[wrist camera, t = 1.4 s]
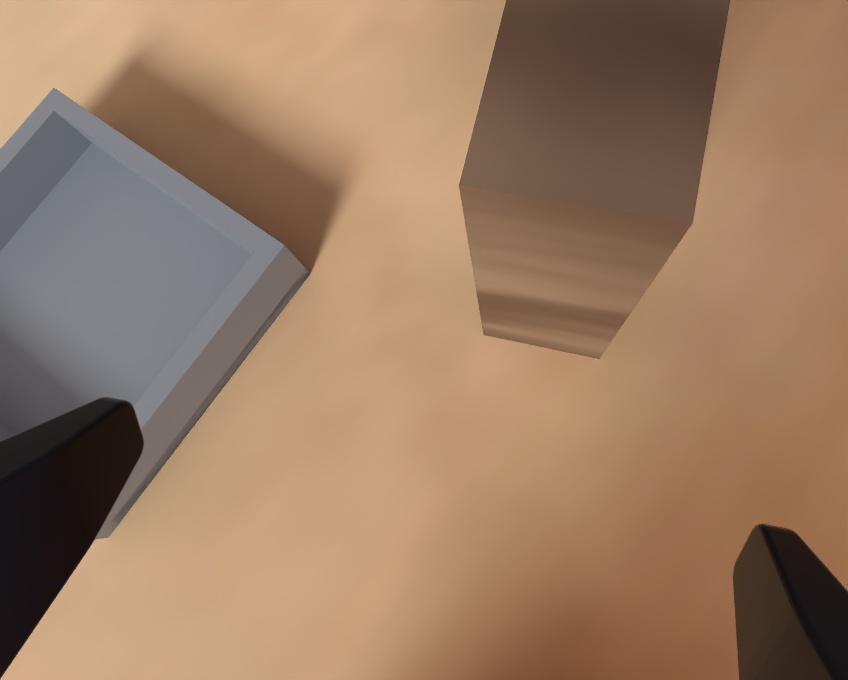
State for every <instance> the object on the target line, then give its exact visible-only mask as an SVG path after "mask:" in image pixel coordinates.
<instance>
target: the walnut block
mask: <svg viewBox="0 0 848 680" xmlns="http://www.w3.org/2000/svg"><path fill="white" fill-rule="evenodd" d="M729 3H730V0H506V4H505V8H504V12H503V16H502V19H501V23H500V27H499V31H498V35H497V39H496V43H495V47H494V51H493V55H492V58H491V62H490V66H489V70H488V74H487V78H486V82H485V86H484V90H483V94H482V98H481V101H480V105H479V109H478V113H477V117H476V121H475V125H474V129H473V133H472V137H471V140H470V144H469V148H468V152H467V156H466V160H465V164H464V168H463V172H462V176H461V180H460V183H459V188H460V194H461V200H462V206H463V212H464V218H465V224H466V231H467V237H468V243H469V249H470V255H471V261H472V267H473V273H474V279H475V285H476V291H477V297H478V303H479V309H480V315H481V321H482V327H483V333H484V335H488V336H492V337H497V338H502V339H507V340H512V341H516V342H521V343H526V344H531V345H536V346H540V347H545V348H550V349H555V350H560V351H564V352H569V353H574V354H579V355H584V356H588V357H593V358H598V359H599V358H600V356H601V355H602V354H603V352H604V351H605V349H606V348H607V346H608V345H609V343H610V342H611V341H612V339H613V338H614V336H615V335H616V333H617V332H618V330H619V329H620V328H621V326H622V325H623V323H624V322H625V320H626V319H627V317H628V316H629V314H630V313H631V312H632V310H633V309H634V307H635V306H636V304H637V303H638V301H639V300H640V299H641V297H642V296H643V294H644V293H645V291H646V290H647V288H648V287H649V286H650V284H651V283H652V281H653V280H654V278H655V277H656V275H657V274H658V272H659V271H660V270H661V268H662V267H663V265H664V264H665V262H666V261H667V259H668V258H669V257H670V255H671V254H672V252H673V251H674V249H675V248H676V246H677V245H678V243H679V242H680V241H681V239H682V238H683V236H684V235H685V233H686V232H687V230H688V229H689V228H690V226H691V225H692V223H693V217H694V211H695V205H696V199H697V193H698V187H699V181H700V176H701V170H702V164H703V158H704V152H705V146H706V140H707V134H708V128H709V122H710V116H711V110H712V104H713V98H714V92H715V86H716V80H717V74H718V69H719V63H720V57H721V51H722V45H723V39H724V33H725V27H726V21H727V15H728V9H729Z"/></svg>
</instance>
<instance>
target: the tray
mask: <svg viewBox="0 0 848 680" xmlns="http://www.w3.org/2000/svg"><path fill="white" fill-rule="evenodd" d="M309 275H310V272H309V271H308V270H307V269H306V268H305V267H304V266H303V265H302V264H301V262H300V261H299V260H298V259H297V258H296V257H295V256H294V255H293V254H292V253H291V252H290V251H289V249H288V248H287V247H286V246H285V245H284V244H282V243H281V242H279V241H278V240H276V239H275V238H273V237H272V236H270V235H269V234H268V233H266V232H265V231H263V230H262V229H260V228H259V227H257V226H256V225H254V224H253V223H251V222H250V221H248V220H247V219H246V218H244V217H243V216H241V215H240V214H238V213H237V212H235V211H234V210H232V209H231V208H229V207H228V206H226V205H225V204H224V203H222V202H221V201H219V200H218V199H216V198H215V197H213V196H212V195H210V194H209V193H207V192H206V191H205V190H203V189H202V188H200V187H199V186H197V185H196V184H194V183H193V182H191V181H190V180H188V179H187V178H185V177H184V176H183V175H181V174H180V173H178V172H177V171H175V170H174V169H172V168H171V167H169V166H168V165H166V164H165V163H164V162H162V161H161V160H159V159H158V158H156V157H155V156H153V155H152V154H150V153H149V152H147V151H146V150H144V149H143V148H142V147H140V146H139V145H137V144H136V143H134V142H133V141H131V140H130V139H128V138H127V137H125V136H124V135H123V134H121V133H120V132H118V131H117V130H115V129H114V128H112V127H111V126H109V125H108V124H106V123H105V122H103V121H102V120H101V119H99V118H98V117H96V116H95V115H93V114H92V113H90V112H89V111H87V110H86V109H84V108H83V107H81V106H80V105H79V104H77V103H76V102H74V101H73V100H71V99H70V98H68V97H67V96H65V95H64V94H62V93H61V92H60V91H58V90H57V89H55V88H53V89H52V90H51V92H50V93H49V94H48V95H47V96H46V97H45V99H44V100H43V101H42V102H41V103H40V104H39V105H38V107H37V108H36V109H35V110H34V111H33V112H32V114H31V115H30V116H29V117H28V118H27V119H26V120H25V122H24V123H23V124H22V125H21V126H20V127H19V129H18V130H17V131H16V132H15V133H14V134H13V135H12V137H11V138H10V139H9V140H8V141H7V142H6V144H5V145H4V146H3V147H2V148H1V149H0V442H1V441H3V440H5V439H7V438H10V437H12V436H14V435H17V434H19V433H21V432H23V431H26V430H28V429H30V428H33V427H35V426H37V425H39V424H42V423H44V422H46V421H49V420H51V419H53V418H55V417H58V416H60V415H62V414H65V413H67V412H69V411H71V410H74V409H76V408H78V407H81V406H83V405H85V404H87V403H90V402H92V401H94V400H97V399H99V398H102V397H111V398H116V399H121V400H126V401H128V402H130V403H131V404H132V405H133V407H134V409H135V412H136V416H137V419H138V422H139V425H140V428H141V431H142V435H143V438H144V448H143V451H142V454H141V457H140V458H139V460H138V462H137V464H136V466H135V468H134V469H133V471H132V473H131V475H130V477H129V479H128V480H127V482H126V484H125V486H124V488H123V490H122V491H121V493H120V495H119V497H118V499H117V501H116V502H115V504H114V506H113V508H112V510H111V511H110V513H109V515H108V517H107V519H106V521H105V522H104V524H103V526H102V528H101V530H100V531H99V533H98V535H97V536H96V538H95V539H101V538H108V537H109V536H110V534H111V533H112V532H113V530H114V529H115V528H116V526H117V525H118V524H119V523H120V521H121V520H122V519H123V517H124V516H125V515H126V513H127V512H128V511H129V509H130V508H131V507H132V506H133V504H134V503H135V502H136V500H137V499H138V498H139V496H140V495H141V494H142V492H143V491H144V490H145V489H146V487H147V486H148V485H149V483H150V482H151V481H152V479H153V478H154V477H155V476H156V474H157V473H158V472H159V470H160V469H161V468H162V466H163V465H164V464H165V462H166V461H167V460H168V459H169V457H170V456H171V455H172V453H173V452H174V451H175V449H176V448H177V447H178V445H179V444H180V443H181V442H182V440H183V439H184V438H185V436H186V435H187V434H188V432H189V431H190V430H191V429H192V427H193V426H194V425H195V423H196V422H197V421H198V419H199V418H200V417H201V415H202V414H203V413H204V412H205V410H206V409H207V408H208V406H209V405H210V404H211V402H212V401H213V400H214V399H215V397H216V396H217V395H218V393H219V392H220V391H221V389H222V388H223V387H224V385H225V384H226V383H227V382H228V380H229V379H230V378H231V376H232V375H233V374H234V372H235V371H236V370H237V368H238V367H239V366H240V365H241V363H242V362H243V361H244V359H245V358H246V357H247V355H248V354H249V353H250V352H251V350H252V349H253V348H254V346H255V345H256V344H257V342H258V341H259V340H260V338H261V337H262V336H263V335H264V333H265V332H266V331H267V329H268V328H269V327H270V325H271V324H272V323H273V321H274V320H275V319H276V318H277V316H278V315H279V314H280V312H281V311H282V310H283V308H284V307H285V306H286V305H287V303H288V302H289V301H290V299H291V298H292V297H293V295H294V294H295V293H296V291H297V290H298V289H299V288H300V286H301V285H302V284H303V282H304V281H305V280H306V278H307V277H308V276H309Z"/></svg>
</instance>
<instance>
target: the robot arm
mask: <svg viewBox="0 0 848 680" xmlns="http://www.w3.org/2000/svg"><path fill="white" fill-rule="evenodd" d="M143 448H144V438H143V435H142V431H141V428H140V425H139V422H138V419H137V416H136V412H135V409H134V407H133V405H132V404H131V403H130V402H128V401H126V400H121V399H116V398H111V397H102V398H99V399H97V400H94V401H92V402H90V403H87V404H85V405H83V406H81V407H78V408H76V409H74V410H71V411H69V412H67V413H65V414H62V415H60V416H58V417H55V418H53V419H51V420H49V421H46V422H44V423H42V424H39V425H37V426H35V427H33V428H30V429H28V430H26V431H23V432H21V433H19V434H17V435H14V436H12V437H10V438H7V439H5V440H3V441H1V442H0V679H1V677H2V676H3V674H4V673H5V671H6V670H7V668H8V667H9V666H10V664H11V663H12V661H13V660H14V658H15V657H16V655H17V654H18V652H19V651H20V649H21V648H22V646H23V645H24V643H25V642H26V641H27V639H28V638H29V636H30V635H31V633H32V632H33V630H34V629H35V627H36V626H37V624H38V623H39V621H40V620H41V619H42V617H43V616H44V614H45V613H46V611H47V610H48V608H49V607H50V605H51V604H52V602H53V601H54V599H55V598H56V596H57V595H58V594H59V592H60V591H61V589H62V588H63V586H64V585H65V583H66V582H67V580H68V579H69V577H70V576H71V574H72V573H73V572H74V570H75V569H76V567H77V566H78V564H79V563H80V561H81V560H82V558H83V557H84V555H85V554H86V552H87V551H88V549H89V548H90V546H91V545H92V543H93V541H94V540H95V538H96V536H97V535H98V533H99V531H100V530H101V528H102V526H103V524H104V522H105V521H106V519H107V517H108V515H109V513H110V511H111V510H112V508H113V506H114V504H115V502H116V501H117V499H118V497H119V495H120V493H121V491H122V490H123V488H124V486H125V484H126V482H127V480H128V479H129V477H130V475H131V473H132V471H133V469H134V468H135V466H136V464H137V462H138V460H139V458H140V457H141V454H142V451H143ZM733 586H734V602H735V618H736V634H737V650H738V666H739V680H848V591H847V590H846V589H845V588H844V586H843V585H842V584H841V583H840V582H839V581H838V580H837V578H836V577H835V576H834V575H833V574H832V573H831V572H830V571H829V569H828V568H827V567H826V566H825V565H824V564H823V563H822V561H821V560H820V559H819V558H818V557H817V556H816V555H815V554H814V552H813V551H812V550H811V549H810V548H809V547H808V546H807V544H806V543H805V542H804V541H803V540H802V539H801V538H800V537H799V536H798V535H797V534H796V533H795V532H794V531H792V530H790V529H787V528H782V527H777V526H772V525H766V524H758V525H756V526H755V527H754V528H753V530H752V531H751V533H750V535H749V537H748V539H747V541H746V543H745V545H744V547H743V549H742V551H741V553H740V555H739V556H738V558H737V560H736V563H735V566H734V572H733Z"/></svg>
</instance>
